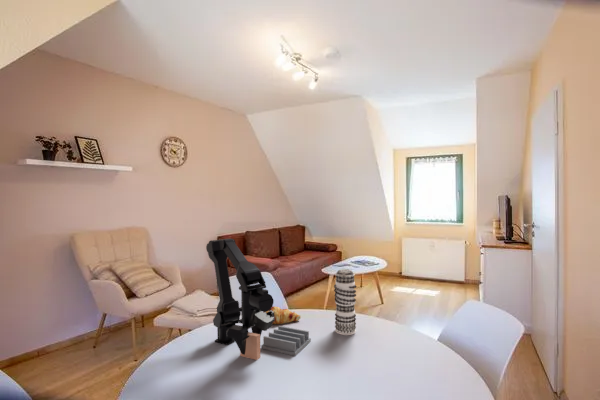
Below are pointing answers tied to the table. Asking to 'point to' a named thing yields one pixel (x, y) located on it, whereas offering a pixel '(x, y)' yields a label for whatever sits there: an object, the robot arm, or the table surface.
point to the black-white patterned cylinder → (345, 302)
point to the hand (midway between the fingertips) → (250, 349)
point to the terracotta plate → (252, 346)
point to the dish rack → (286, 340)
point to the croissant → (284, 315)
